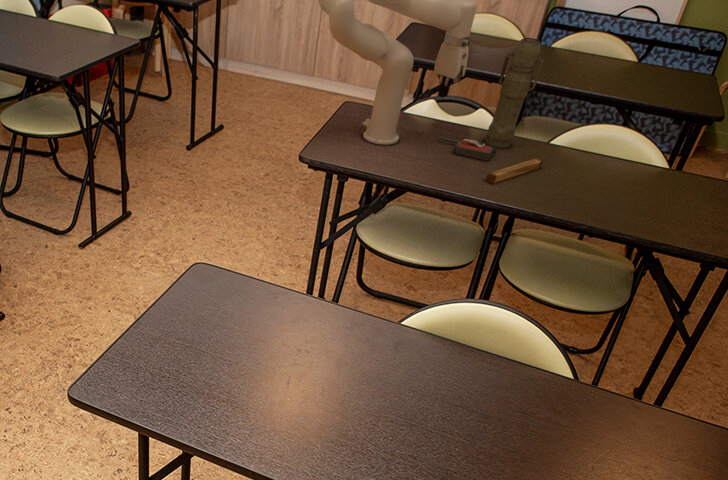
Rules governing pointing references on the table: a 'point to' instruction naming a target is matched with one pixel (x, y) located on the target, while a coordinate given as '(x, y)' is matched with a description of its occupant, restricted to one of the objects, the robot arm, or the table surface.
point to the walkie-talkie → (471, 148)
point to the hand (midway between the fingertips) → (442, 96)
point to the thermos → (513, 92)
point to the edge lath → (514, 170)
